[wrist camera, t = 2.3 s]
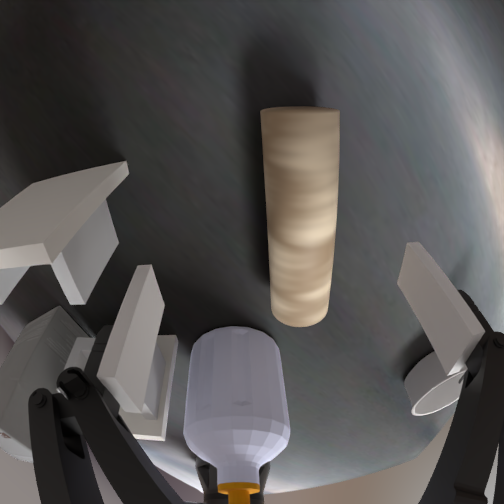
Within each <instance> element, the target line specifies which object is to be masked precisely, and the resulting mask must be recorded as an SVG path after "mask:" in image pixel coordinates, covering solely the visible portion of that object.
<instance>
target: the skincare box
mask: <svg viewBox="0 0 504 504" xmlns="http://www.w3.org/2000/svg"><path fill="white" fill-rule="evenodd" d="M77 337H85V338H90V337H89V336H88V335H87V334H86V333H85V332H84V331H83V330H82V329H81V328H80V327H79V325H78V324H77V323H76V322H75V321H74V320H73V319H72V318H71V317H70V316H69V315H68V313H67V312H66V311H65V310H64V309H63V308H62V307H61V306H57V307H56V308H54V309H52V310H50V311H49V312H47V313H45V314H44V315H42V316H40V317H38V318H37V319H35V320H33V321H32V322H30V323H28V324H27V325H26V326H25V327H24V329H23V331H22V332H21V334H20V336H19V337H18V339H17V340H16V342H15V344H14V346H13V347H12V349H11V351H10V352H9V354H8V356H7V358H6V359H5V361H4V363H3V364H2V366H1V368H0V448H1V449H2V450H4V451H5V452H7V453H8V454H9V455H11V456H12V457H14V458H16V459H18V460H22V461H27V462H33V457H32V449H31V440H30V429H29V414H28V401H29V397H30V395H31V394H32V393H33V392H34V391H35V390H37V389H38V388H46V389H48V390H49V391H50V392H51V393H52V394H55V393H59V392H58V391H57V390H56V389H57V384H56V382H57V379H58V376H59V375H60V373H61V372H62V371H63V370H64V368H65V365H66V363H67V360H68V358H69V355H70V353H71V350H72V348H73V346H74V343H75V341H76V339H77Z"/></svg>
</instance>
